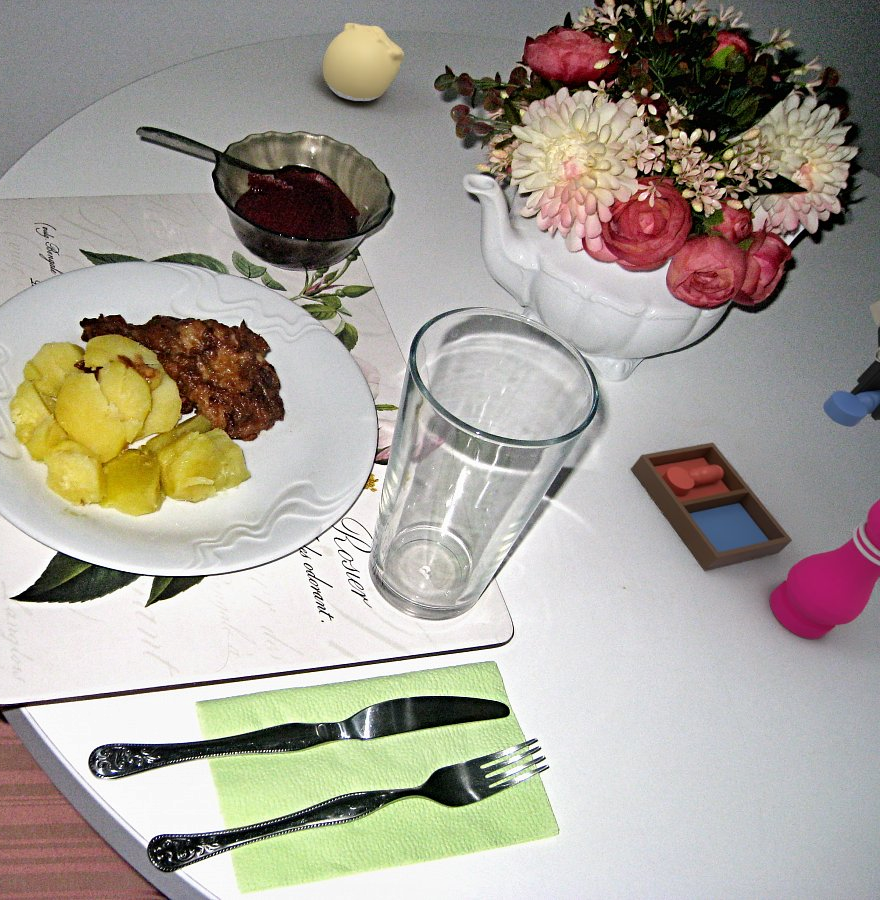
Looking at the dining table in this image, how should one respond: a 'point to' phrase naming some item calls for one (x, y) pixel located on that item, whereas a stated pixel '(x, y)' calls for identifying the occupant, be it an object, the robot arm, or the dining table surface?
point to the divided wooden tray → (689, 527)
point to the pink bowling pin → (831, 583)
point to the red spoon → (691, 477)
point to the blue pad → (728, 527)
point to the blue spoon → (851, 406)
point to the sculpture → (361, 61)
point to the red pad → (704, 490)
